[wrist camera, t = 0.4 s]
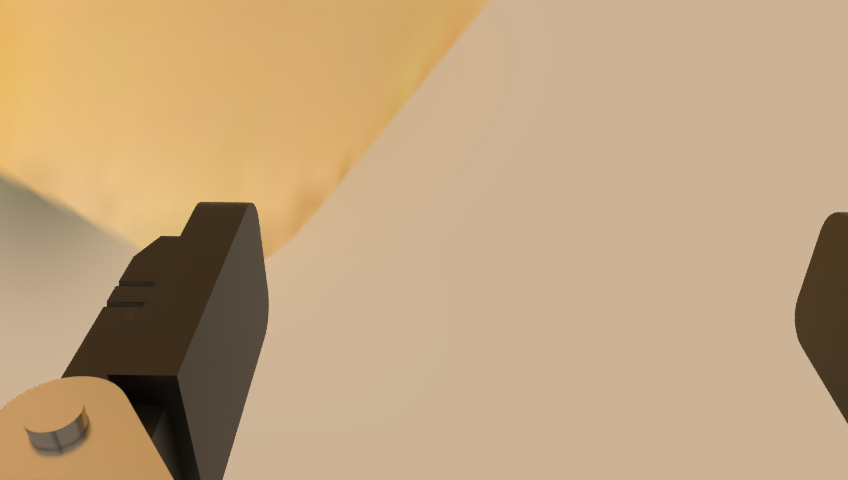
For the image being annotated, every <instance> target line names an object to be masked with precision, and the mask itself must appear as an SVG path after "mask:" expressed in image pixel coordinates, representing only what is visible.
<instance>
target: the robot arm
mask: <svg viewBox="0 0 848 480" xmlns="http://www.w3.org/2000/svg"><path fill="white" fill-rule="evenodd" d="M268 302H269V300H268V288H267V280H266V273H265V265H264V257H263V249H262V241H261V234H260V226H259V219H258V213H257V210H256V207H255V205H254V204H253V203H239V202H200V203H198V204H197V206H196V207H195V209H194V211H193V213H192V215H191V217H190V219H189V220H188V222H187V224H186V226H185V228H184V230H183V232H182V234H181V236H161V237H159V238H158V239H157V240H155V241H154V242H153V243H151V244H150V245H149V246H147V247H146V248H145V249H143V250H142V251H141V252H139V253H138V254H137V255H135V256H134V257H133V259H132V260H131V262H130V264H129V266H128V267H127V269H126V270H125V272H124V274H123V275H122V277H121V279H120V280H119V286H116V287H115V289H114V290H113V292H112V294H111V295H110V297H109V299H108V300H107V307H104V308H103V309H102V310H101V312H100V314H99V315H98V317H97V319H96V321H95V322H94V324H93V325H92V327H91V329H90V331H89V332H88V334H87V335H86V337H85V339H84V341H83V342H82V344H81V346H80V347H79V349H78V351H77V352H76V354H75V356H74V357H73V359H72V361H71V362H70V364H69V366H68V367H67V369H66V371H65V372H64V374H63V376H62V377H61V379H57V380H53V381H50V382H47V383H44V384H41V385H38V386H36V387H34V388H32V389H29V390H27V391H26V392H24V393H22V394H20V395H19V396H17V397H16V398H14V399H13V400H11V401H10V402H9V403H7V404H6V405H5V406H4V407H3V408H2V409H1V410H0V480H222V479H223V476H224V472H225V469H226V466H227V462H228V459H229V456H230V452H231V449H232V446H233V442H234V439H235V436H236V432H237V429H238V425H239V422H240V419H241V415H242V412H243V408H244V405H245V402H246V398H247V395H248V391H249V388H250V385H251V382H252V378H253V375H254V371H255V368H256V365H257V361H258V358H259V354H260V351H261V348H262V345H263V341H264V338H265V334H266V329H267V323H268V309H269V303H268ZM795 327H796V333H797V337H798V340H799V342H800V344H801V346H802V348H803V350H804V351H805V353H806V355H807V356H808V358H809V360H810V361H811V363H812V365H813V366H814V368H815V370H816V371H817V373H818V375H819V377H820V378H821V380H822V381H823V383H824V385H825V387H826V388H827V390H828V392H829V393H830V395H831V396H832V398H833V400H834V401H835V403H836V405H837V407H838V408H839V410H840V412H841V413H842V415H843V417H844V418H845V420H846V422H847V423H848V213H847V212H837V213H833V214H831V215H830V216H829V217H828V218H827V219H826V220H825V222H824V224H823V226H822V229H821V231H820V234H819V237H818V240H817V243H816V246H815V249H814V252H813V255H812V258H811V261H810V264H809V267H808V270H807V273H806V276H805V279H804V282H803V285H802V288H801V291H800V293H799V296H798V299H797V303H796V309H795Z"/></svg>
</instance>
